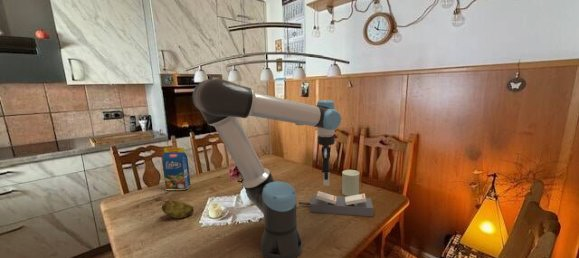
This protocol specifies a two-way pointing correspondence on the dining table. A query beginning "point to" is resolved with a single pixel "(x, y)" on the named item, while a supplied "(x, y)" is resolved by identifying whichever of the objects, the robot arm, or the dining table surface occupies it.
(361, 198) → the small box
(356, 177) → the can
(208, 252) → the dining table surface
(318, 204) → the rocker switch panel
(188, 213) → the olive green oval lump
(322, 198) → the block
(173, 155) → the blue food package
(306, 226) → the dining table surface
